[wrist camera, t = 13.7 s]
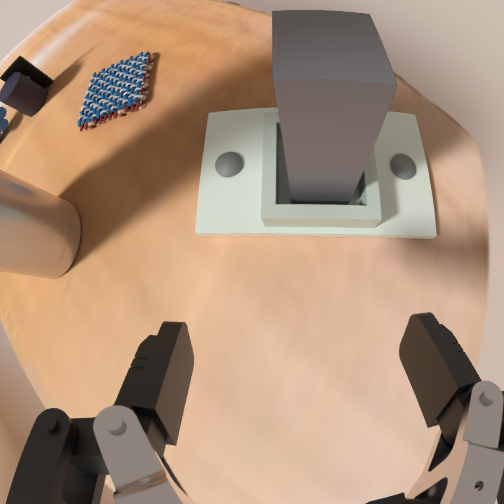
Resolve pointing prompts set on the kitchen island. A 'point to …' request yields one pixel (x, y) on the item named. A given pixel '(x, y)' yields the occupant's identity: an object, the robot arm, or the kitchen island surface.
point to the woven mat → (116, 91)
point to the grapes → (3, 120)
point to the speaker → (24, 87)
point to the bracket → (309, 215)
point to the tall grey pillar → (328, 99)
